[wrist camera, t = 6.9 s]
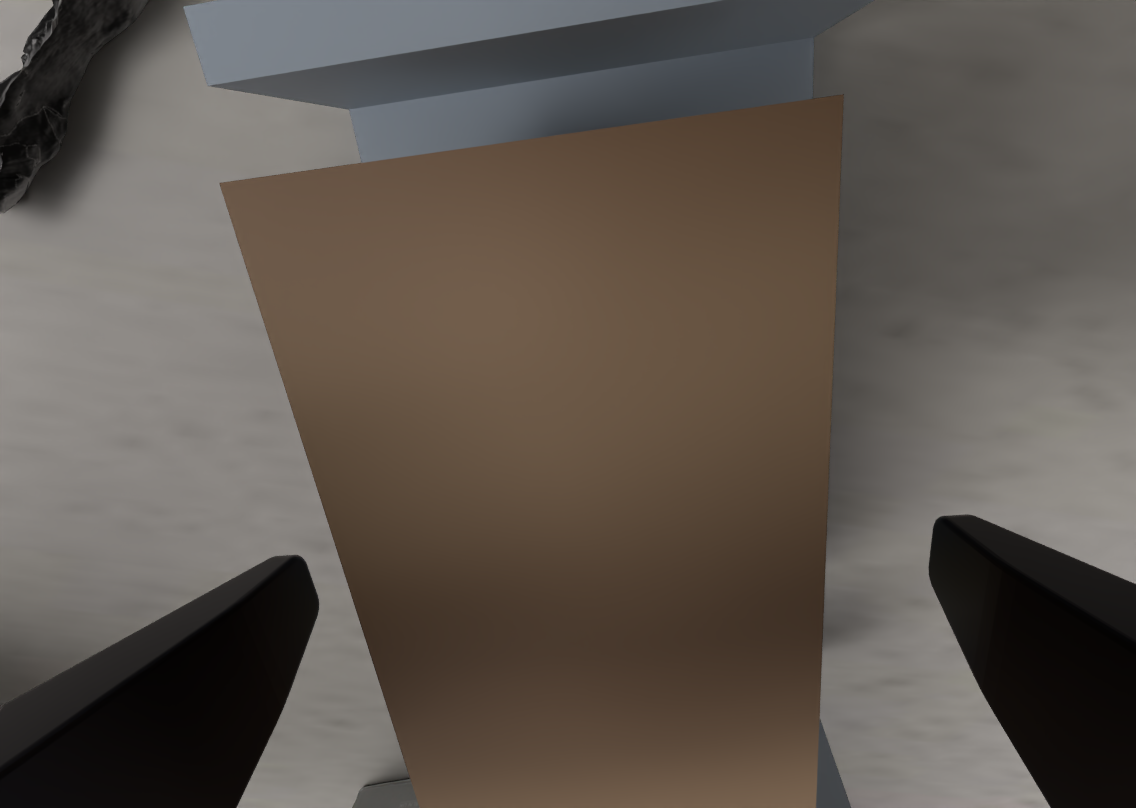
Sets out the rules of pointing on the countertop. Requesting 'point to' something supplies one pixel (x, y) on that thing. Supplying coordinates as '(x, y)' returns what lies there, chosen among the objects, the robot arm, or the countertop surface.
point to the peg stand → (518, 76)
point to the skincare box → (387, 796)
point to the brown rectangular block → (575, 447)
